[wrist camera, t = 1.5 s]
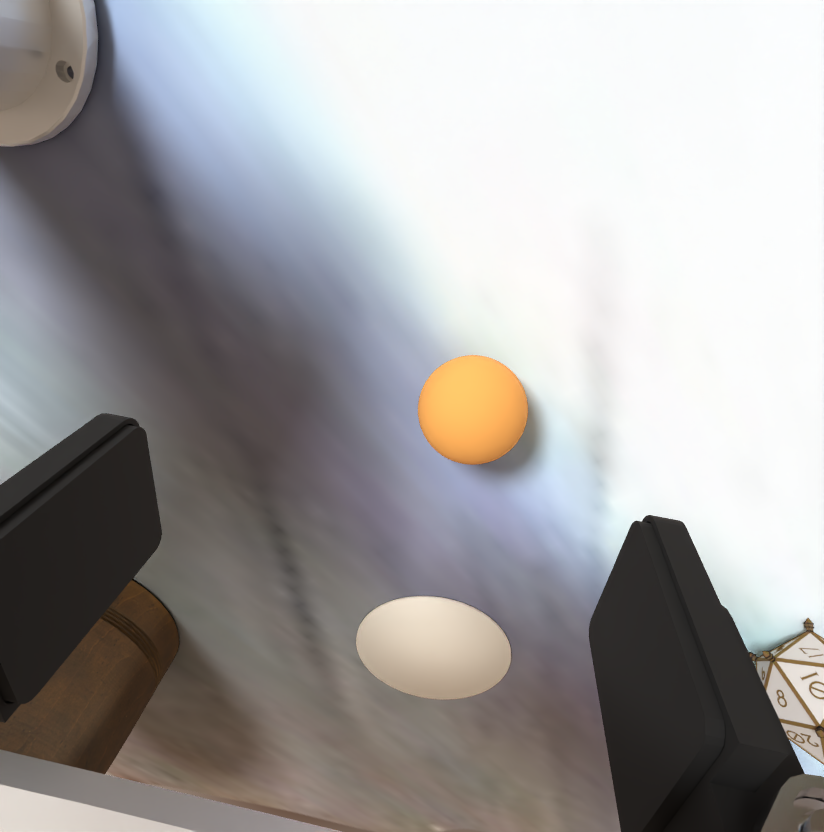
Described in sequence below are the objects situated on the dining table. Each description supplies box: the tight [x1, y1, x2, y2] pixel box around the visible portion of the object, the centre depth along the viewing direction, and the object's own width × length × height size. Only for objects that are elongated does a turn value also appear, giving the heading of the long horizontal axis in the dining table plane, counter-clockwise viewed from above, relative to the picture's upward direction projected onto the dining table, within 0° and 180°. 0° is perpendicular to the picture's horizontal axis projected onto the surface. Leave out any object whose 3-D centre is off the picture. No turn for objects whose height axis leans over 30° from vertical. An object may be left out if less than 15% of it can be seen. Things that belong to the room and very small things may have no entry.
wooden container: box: [0, 580, 179, 774], centre depth 38 cm, size 15×15×22 cm
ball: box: [418, 355, 528, 465], centre depth 29 cm, size 6×6×6 cm
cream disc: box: [356, 596, 511, 700], centre depth 44 cm, size 13×13×1 cm
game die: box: [749, 618, 824, 765], centre depth 36 cm, size 9×8×10 cm
